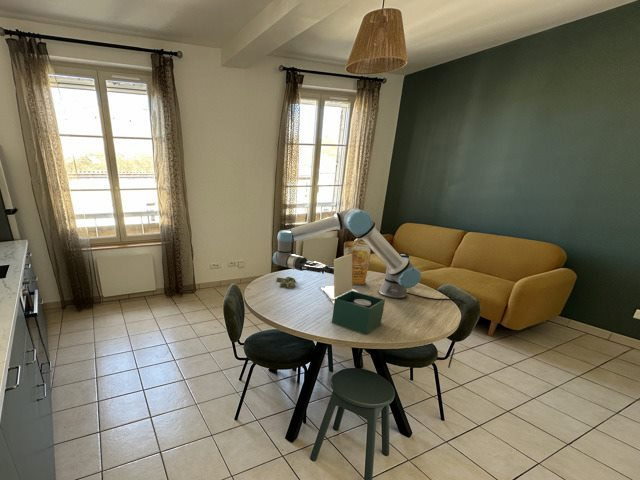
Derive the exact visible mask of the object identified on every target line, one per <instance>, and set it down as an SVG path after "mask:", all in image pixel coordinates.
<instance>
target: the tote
mask: <svg viewBox="0 0 640 480" xmlns="http://www.w3.org/2000/svg"><path fill="white" fill-rule="evenodd" d="M356 299H364V300H368V301H370V302H371V307H370V308H367V307H364V306H360V305H357V304H354V300H356ZM385 303H386V299H385V298H381V297H377V296H374V295H370V294H366V293H362V292H359V291H357V292H355V291H349V292H347V293H345V294H343V295H341V296H339V297H337V298H335V301H334V304H333V308H332V309H333V310H332V316H331V317H332V319H331V323H332V324H335V325H337V326H341V327H344V328H347V329H349V330H351V331H355V332H357V333H360V334H364V335H367V334H368V333H370V332H371V331H372V330H374V329H376V328H377V327H378V326H380V325H381V323H382V319H383V314H384V309H385Z"/></svg>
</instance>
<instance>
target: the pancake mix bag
mask: <svg viewBox="0 0 640 480" xmlns="http://www.w3.org/2000/svg"><path fill="white" fill-rule="evenodd" d="M371 251H372V249H371V248H370V247H369V246H368V245H367V244H366V243H365V242H364V241H363V240H362V241H358V240H350V241H349V240H348V241H345V242H344V243H343V256H346V255H349V254H352V285H364V284H366V283H367V281H366V280H367V276H368V271H369V266H370V260H371Z"/></svg>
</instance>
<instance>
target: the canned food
mask: <svg viewBox="0 0 640 480" xmlns="http://www.w3.org/2000/svg"><path fill="white" fill-rule="evenodd" d="M354 304H357V305H360V306H364V307H367V308H370V307H371V302H370V301H368V300H364V299H356V300H354Z"/></svg>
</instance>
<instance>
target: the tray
mask: <svg viewBox="0 0 640 480" xmlns="http://www.w3.org/2000/svg"><path fill="white" fill-rule="evenodd" d="M320 289H321V291H323V292H325V294H326V295H327V296H328V298H330V301H331V303H333V305H334V301H335V298H334V285H326V286H325V287H320ZM350 291H355V292H358V290H356V289H355V288H352V290H350ZM348 292H349V291H348ZM346 293H347V292H346ZM344 294H345V293H344ZM342 295H343V294H342ZM340 296H341V295H340ZM338 297H339V296H338ZM336 298H337V297H336Z"/></svg>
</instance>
